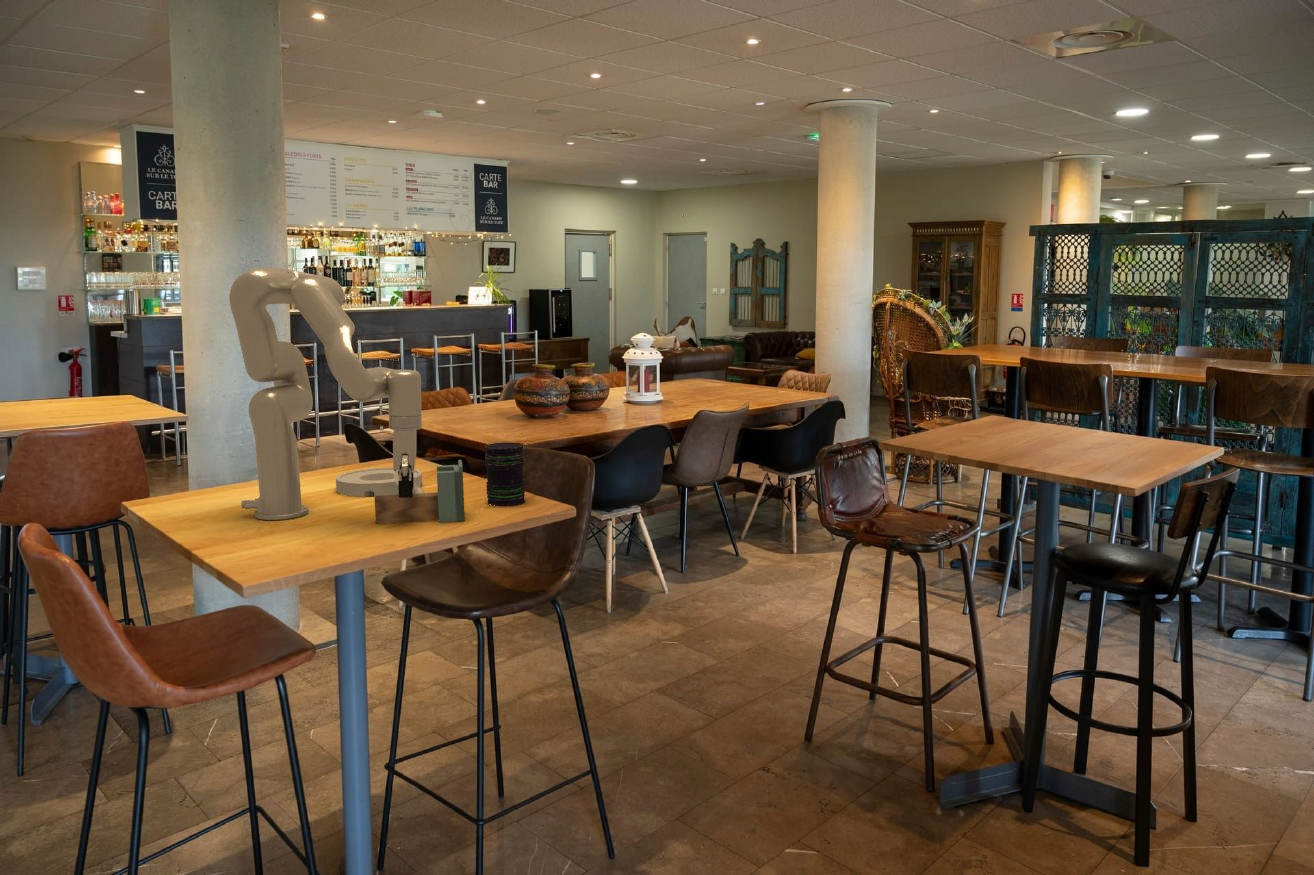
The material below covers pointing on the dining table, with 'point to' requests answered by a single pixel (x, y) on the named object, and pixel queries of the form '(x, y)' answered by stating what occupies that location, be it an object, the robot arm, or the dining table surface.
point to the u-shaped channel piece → (450, 493)
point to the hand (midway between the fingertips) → (406, 492)
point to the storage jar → (505, 474)
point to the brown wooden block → (406, 508)
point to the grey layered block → (415, 488)
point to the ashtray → (371, 482)
